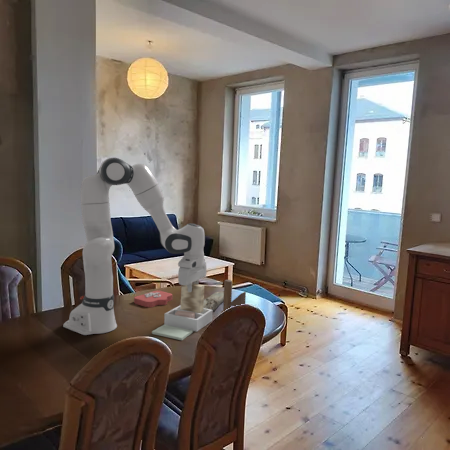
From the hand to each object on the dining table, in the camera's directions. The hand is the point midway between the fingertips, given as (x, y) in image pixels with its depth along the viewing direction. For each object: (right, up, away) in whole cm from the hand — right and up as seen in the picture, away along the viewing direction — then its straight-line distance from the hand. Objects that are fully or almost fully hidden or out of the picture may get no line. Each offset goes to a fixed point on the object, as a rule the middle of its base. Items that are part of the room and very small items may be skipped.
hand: (192, 290), depth 187 cm
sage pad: (-7, -16, -14) cm, 22 cm away
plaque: (-21, -11, +26) cm, 35 cm away
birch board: (0, -9, +1) cm, 9 cm away
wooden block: (+18, -14, +4) cm, 23 cm away
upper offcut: (-3, -12, -5) cm, 13 cm away
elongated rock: (+8, -12, +25) cm, 29 cm away
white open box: (-2, -14, -1) cm, 14 cm away
